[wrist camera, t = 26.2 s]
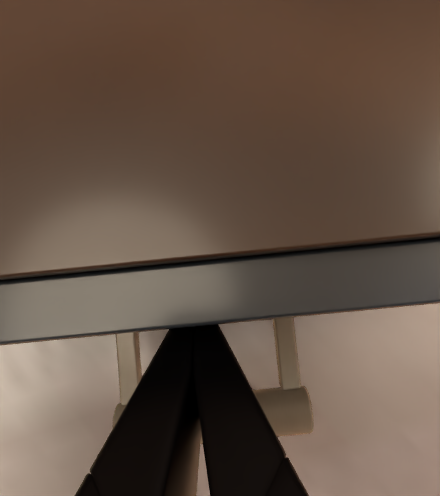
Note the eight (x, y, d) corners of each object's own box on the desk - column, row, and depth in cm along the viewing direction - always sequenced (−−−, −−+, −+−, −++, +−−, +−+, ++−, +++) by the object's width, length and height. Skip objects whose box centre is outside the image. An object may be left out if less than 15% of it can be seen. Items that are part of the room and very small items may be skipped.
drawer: (387, 404, 14) (555, 532, 7) (48, 436, 14) (-138, 595, 7) (330, -26, 15) (420, -292, 8) (24, 6, 16) (-149, -229, 8)
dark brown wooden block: (375, 256, 15) (579, 220, 6) (35, 289, 15) (-225, 300, 7) (333, -60, 16) (456, -458, 8) (18, -27, 17) (-221, -379, 8)
